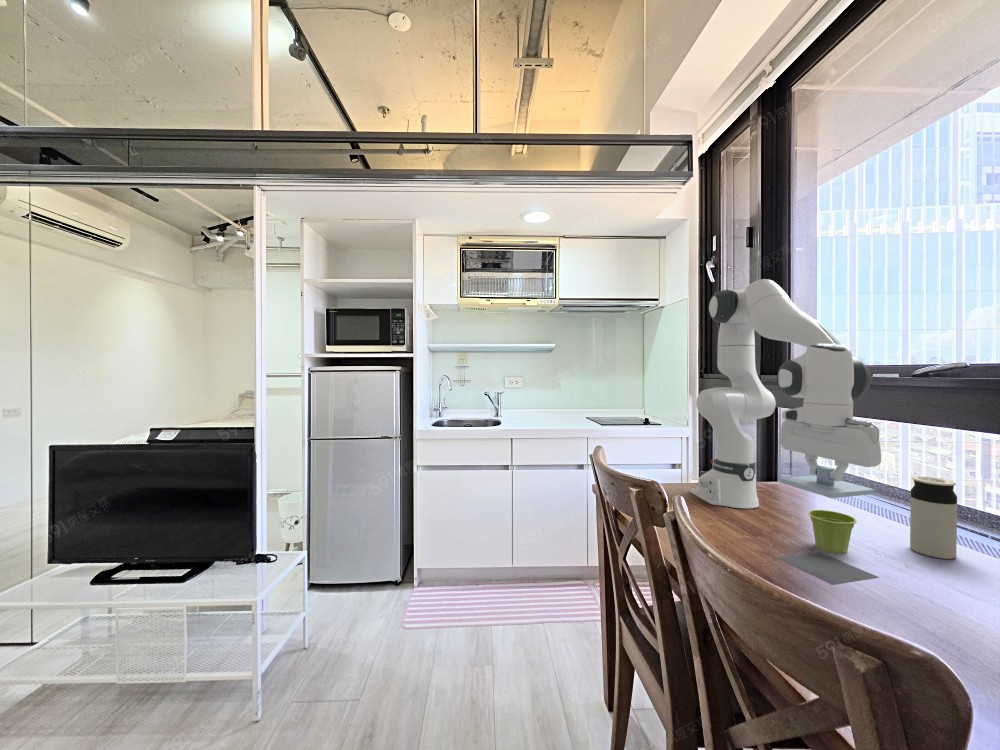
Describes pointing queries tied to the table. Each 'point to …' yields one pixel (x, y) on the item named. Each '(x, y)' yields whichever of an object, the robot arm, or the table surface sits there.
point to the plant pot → (832, 530)
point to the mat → (827, 568)
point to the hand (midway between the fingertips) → (825, 477)
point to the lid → (827, 485)
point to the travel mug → (933, 517)
